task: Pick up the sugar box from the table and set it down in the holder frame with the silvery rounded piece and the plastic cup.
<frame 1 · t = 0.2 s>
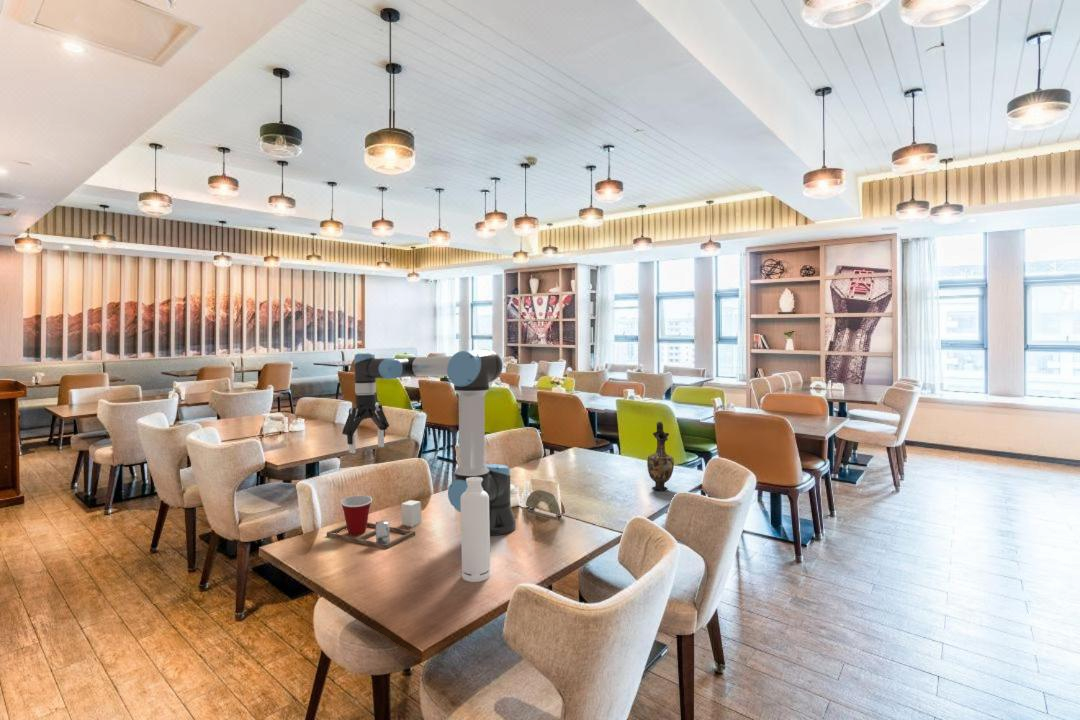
hand: (367, 449, 200), 27 cm above the table, fingers open, 13 cm apart
plastic cup: (357, 533, 188), resting in holder frame
vase: (660, 489, 238), on the table
bottle: (476, 576, 151), on the table
sugar box: (411, 523, 197), on the table
holder frame: (370, 535, 185), on the table
silvery rounded piece: (382, 542, 178), resting in holder frame
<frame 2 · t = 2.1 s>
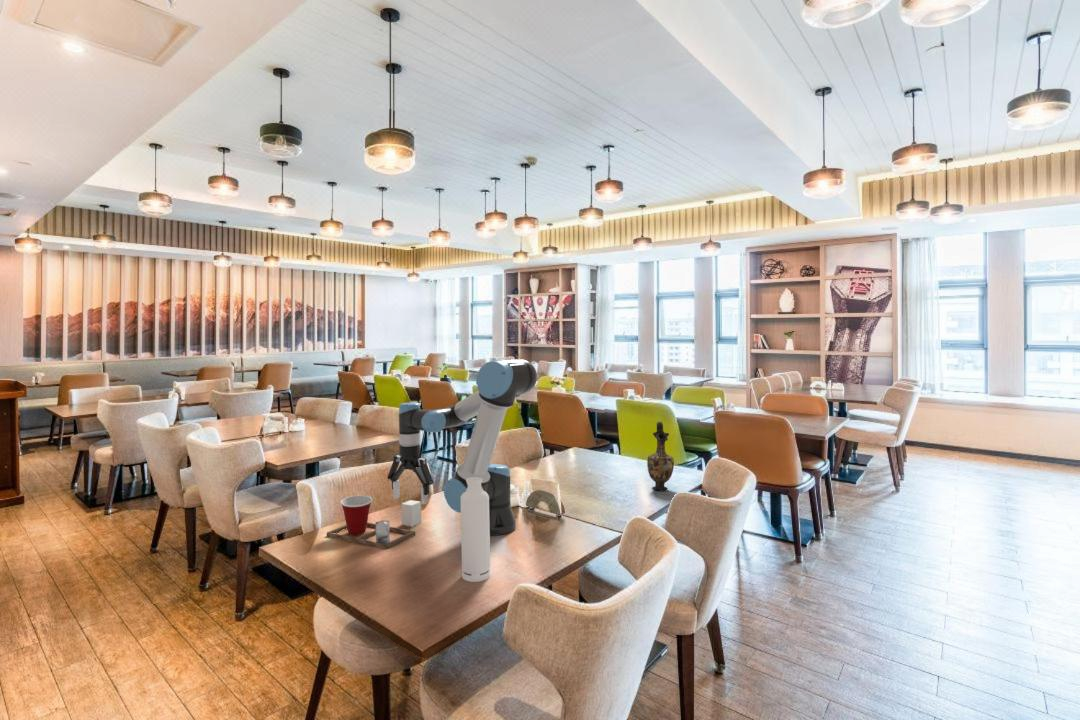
hand: (410, 500, 197), 9 cm above the table, fingers open, 13 cm apart
nothing on the table moved.
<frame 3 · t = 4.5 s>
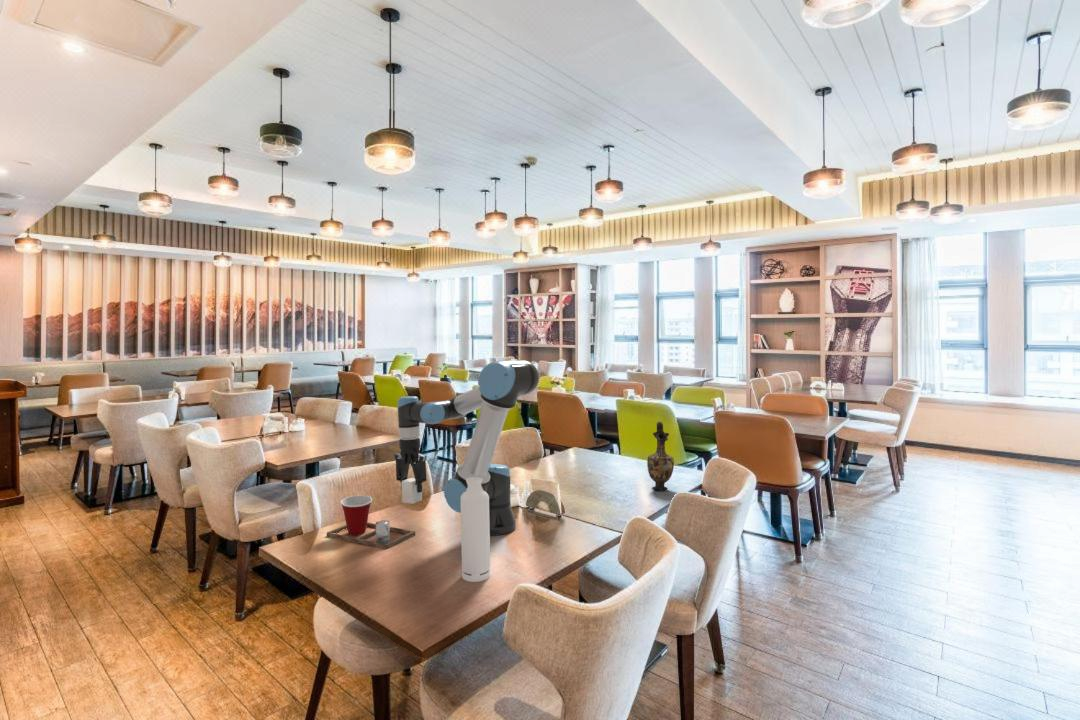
hand: (412, 500, 196), 9 cm above the table, fingers closed on sugar box, 5 cm apart
sugar box: (412, 501, 196), point 9 cm above the table, touching gripper
everything else where it was.
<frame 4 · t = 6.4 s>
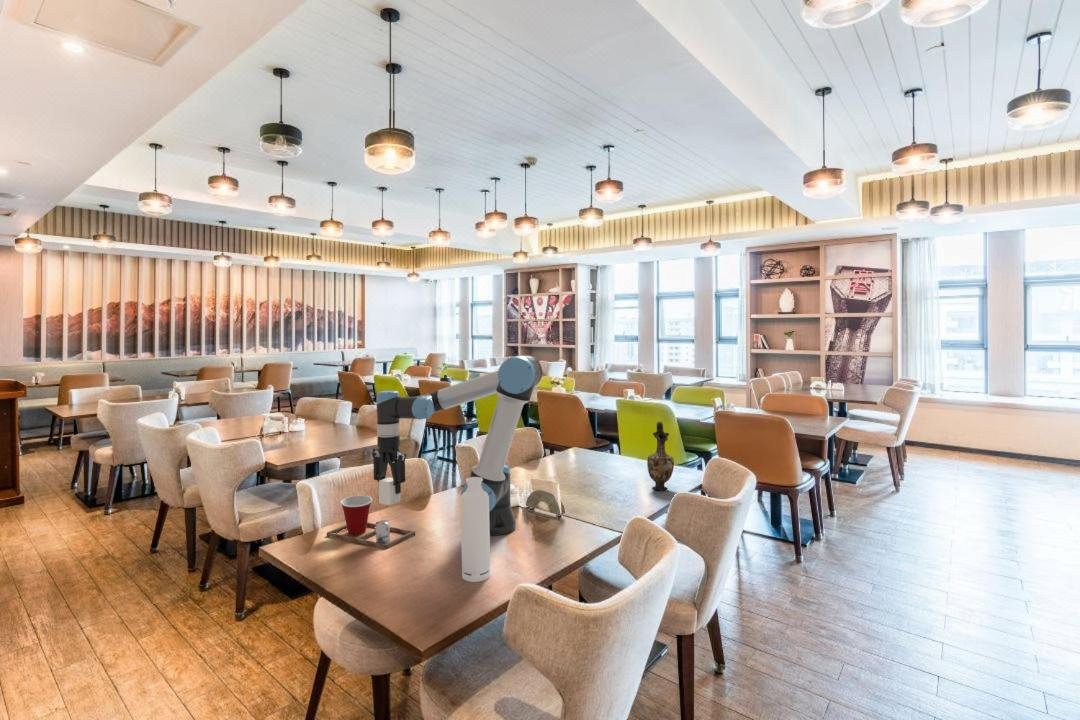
hand: (389, 501, 184), 12 cm above the table, fingers closed on sugar box, 5 cm apart
sugar box: (389, 502, 184), point 12 cm above the table, touching gripper
everything else where it was.
when the fingers open (1 cm above the table, at t = 8.5 s): sugar box stays where it is, resting in holder frame.
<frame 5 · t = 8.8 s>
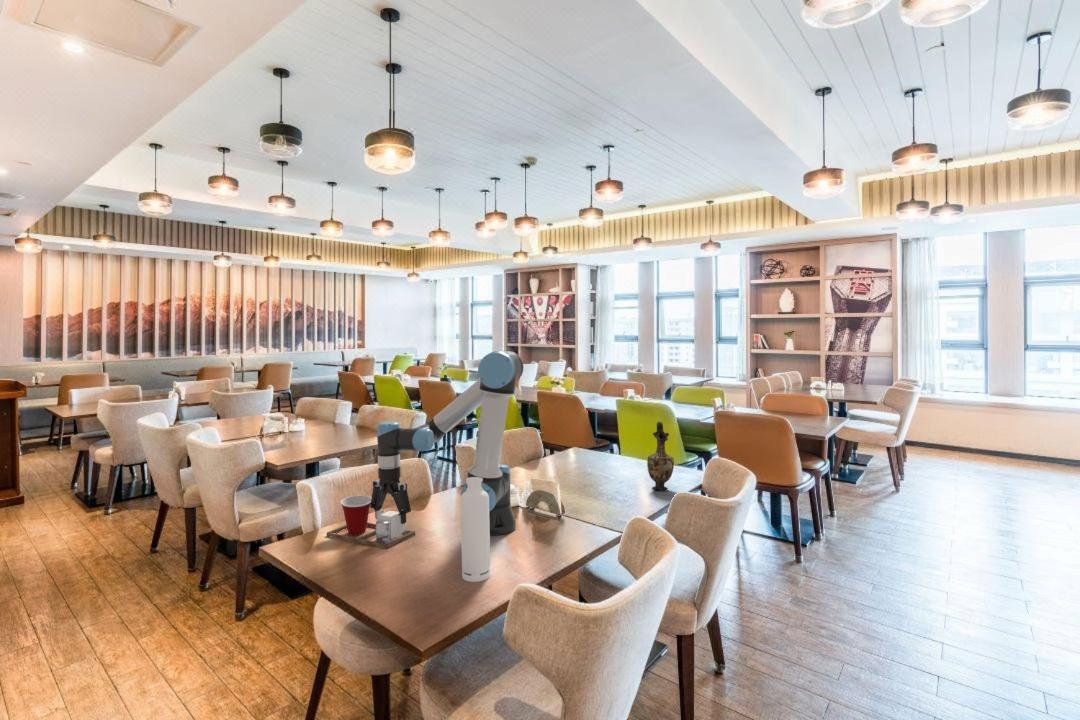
hand: (390, 530, 184), 2 cm above the table, fingers open, 9 cm apart
sugar box: (391, 536, 184), resting in holder frame
everything else where it was.
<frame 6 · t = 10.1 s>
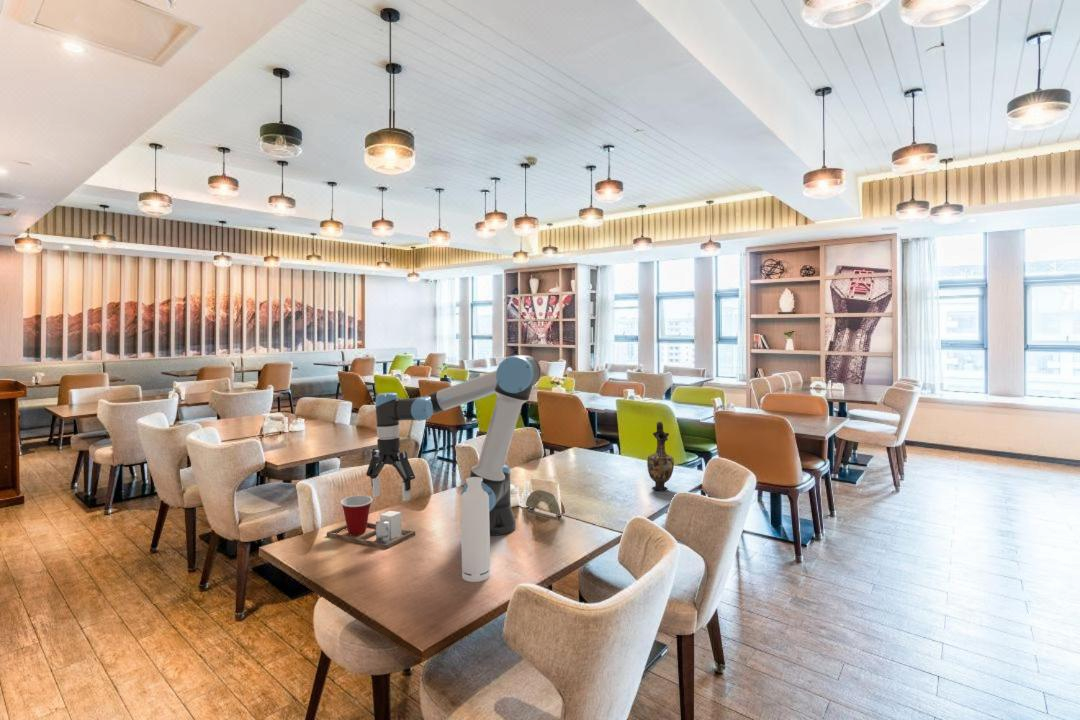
hand: (391, 498, 184), 13 cm above the table, fingers open, 13 cm apart
nothing on the table moved.
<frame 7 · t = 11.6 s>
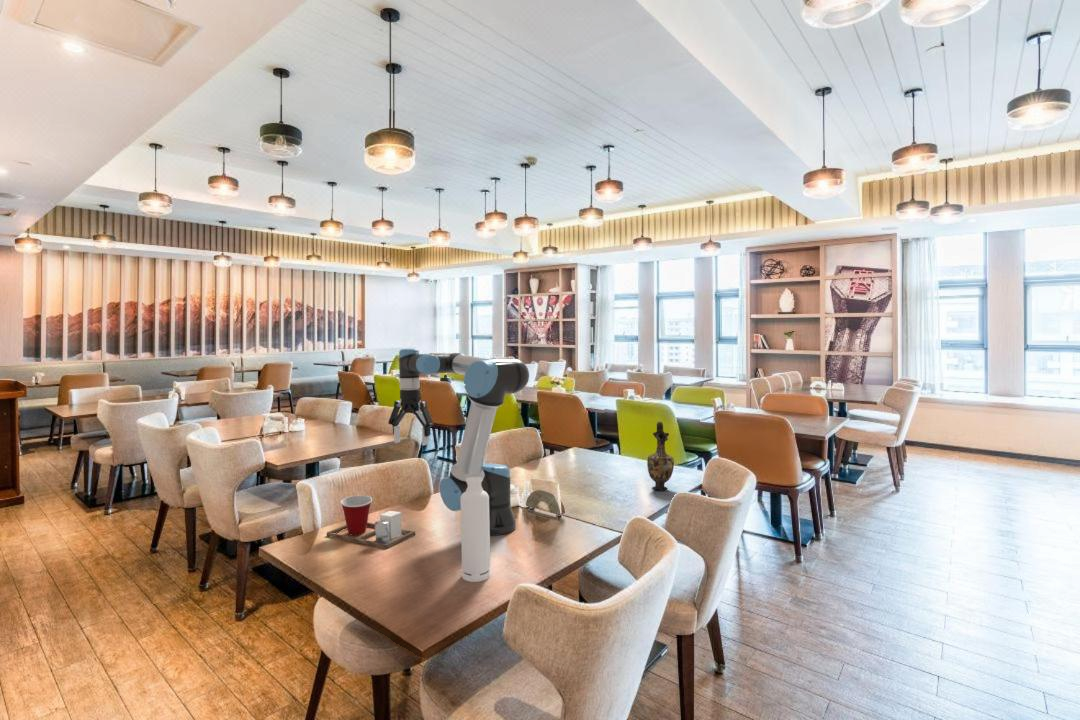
hand: (411, 443, 203), 29 cm above the table, fingers open, 13 cm apart
nothing on the table moved.
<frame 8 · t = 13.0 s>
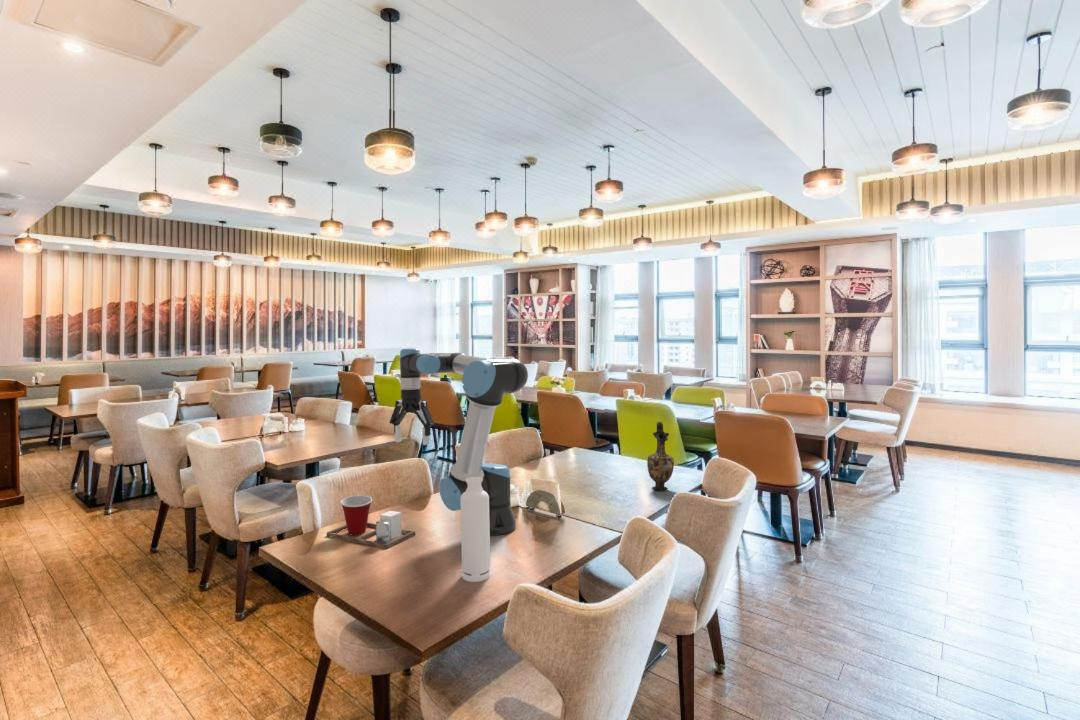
hand: (412, 443, 204), 29 cm above the table, fingers open, 13 cm apart
nothing on the table moved.
at the end: sugar box inside the target area on the holder frame (1.0 cm from its centre), point 0.0 cm above the holder frame's base; sugar box tilted 0°; silvery rounded piece moved 0.1 cm from its start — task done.
